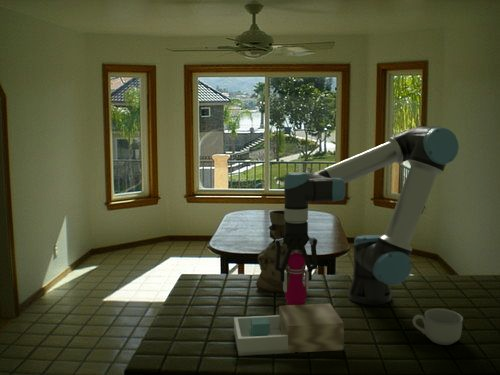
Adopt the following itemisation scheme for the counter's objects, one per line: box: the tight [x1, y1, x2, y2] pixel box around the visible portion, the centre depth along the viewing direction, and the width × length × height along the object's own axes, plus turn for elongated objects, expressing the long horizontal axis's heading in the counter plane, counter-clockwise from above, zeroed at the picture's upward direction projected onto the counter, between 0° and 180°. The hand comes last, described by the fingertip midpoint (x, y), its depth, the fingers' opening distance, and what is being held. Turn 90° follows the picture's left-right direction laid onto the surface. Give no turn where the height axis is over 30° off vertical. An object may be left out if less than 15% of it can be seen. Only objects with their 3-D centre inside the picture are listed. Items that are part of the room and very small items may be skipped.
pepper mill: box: [284, 249, 308, 306], centre depth 178 cm, size 7×7×20 cm
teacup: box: [412, 308, 464, 346], centre depth 161 cm, size 14×11×8 cm
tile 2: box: [251, 317, 270, 335], centre depth 160 cm, size 5×5×3 cm
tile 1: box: [249, 327, 268, 337], centre depth 161 cm, size 5×5×3 cm
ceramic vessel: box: [255, 209, 307, 294], centre depth 208 cm, size 19×21×30 cm
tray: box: [233, 314, 289, 357], centre depth 161 cm, size 14×16×5 cm
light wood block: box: [278, 302, 345, 354], centre depth 163 cm, size 16×16×8 cm
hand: (295, 290), depth 178 cm, fingers closed on pepper mill, 6 cm apart
